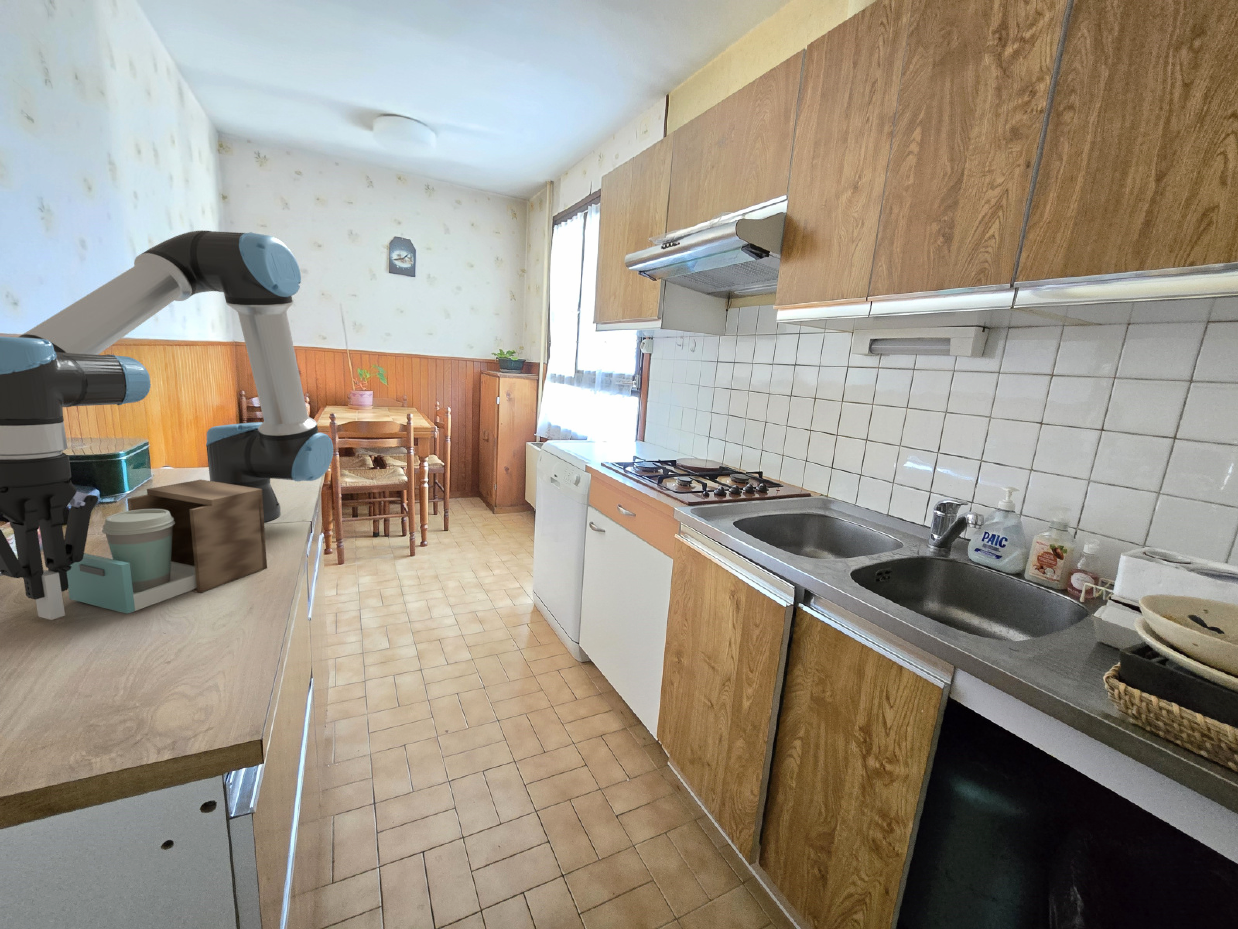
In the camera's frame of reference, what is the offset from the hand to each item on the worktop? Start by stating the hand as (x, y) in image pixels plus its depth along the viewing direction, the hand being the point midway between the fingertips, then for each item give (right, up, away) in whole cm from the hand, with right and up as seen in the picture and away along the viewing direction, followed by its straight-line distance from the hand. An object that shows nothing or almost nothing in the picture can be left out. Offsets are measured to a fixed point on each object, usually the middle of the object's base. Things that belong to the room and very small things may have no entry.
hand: (51, 615), depth 72 cm
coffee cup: (+3, +2, +11) cm, 12 cm away
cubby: (+5, +2, +20) cm, 21 cm away
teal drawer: (+3, +1, +11) cm, 11 cm away
